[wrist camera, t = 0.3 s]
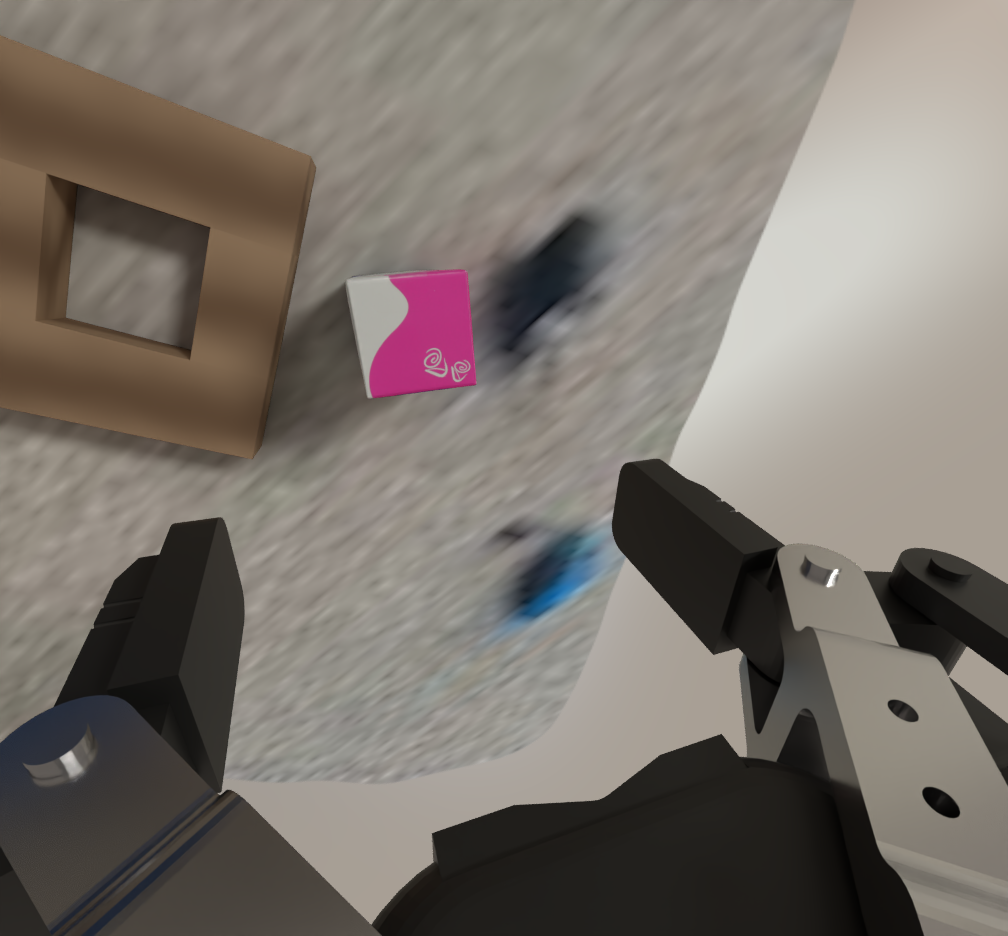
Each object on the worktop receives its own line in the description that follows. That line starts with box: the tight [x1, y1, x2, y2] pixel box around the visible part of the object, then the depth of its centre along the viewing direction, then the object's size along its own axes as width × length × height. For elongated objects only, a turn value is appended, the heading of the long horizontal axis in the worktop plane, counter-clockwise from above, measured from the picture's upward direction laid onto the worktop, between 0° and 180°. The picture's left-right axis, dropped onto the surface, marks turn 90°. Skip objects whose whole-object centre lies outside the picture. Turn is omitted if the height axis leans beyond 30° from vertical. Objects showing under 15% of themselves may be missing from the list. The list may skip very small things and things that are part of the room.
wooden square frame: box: [0, 36, 316, 459], centre depth 29 cm, size 18×16×3 cm
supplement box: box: [345, 269, 476, 398], centre depth 30 cm, size 6×6×12 cm
